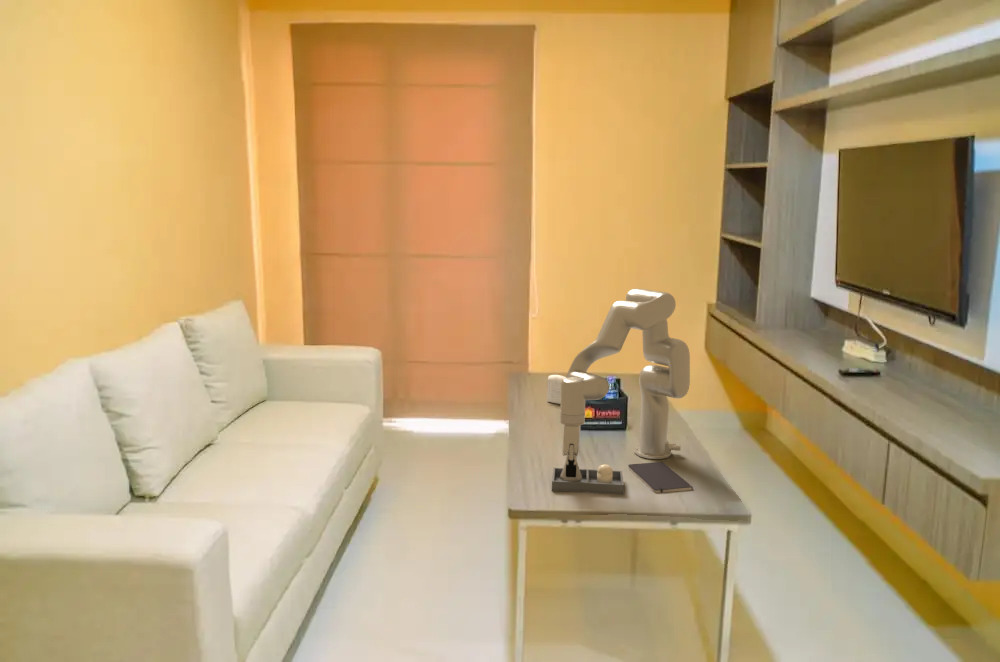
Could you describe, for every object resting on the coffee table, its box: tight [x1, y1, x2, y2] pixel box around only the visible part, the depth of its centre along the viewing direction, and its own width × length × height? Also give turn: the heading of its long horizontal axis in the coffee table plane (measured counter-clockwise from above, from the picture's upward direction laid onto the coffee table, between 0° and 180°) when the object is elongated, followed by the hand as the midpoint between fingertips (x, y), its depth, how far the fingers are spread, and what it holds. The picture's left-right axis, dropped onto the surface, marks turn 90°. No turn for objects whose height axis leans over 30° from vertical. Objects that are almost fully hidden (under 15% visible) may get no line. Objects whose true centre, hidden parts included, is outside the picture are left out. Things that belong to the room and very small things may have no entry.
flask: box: [560, 447, 582, 482], centre depth 224 cm, size 7×7×10 cm
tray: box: [551, 467, 625, 495], centre depth 224 cm, size 22×11×3 cm, turn 84°
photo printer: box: [546, 374, 566, 405], centre depth 310 cm, size 10×4×12 cm, turn 57°
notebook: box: [627, 461, 693, 494], centre depth 230 cm, size 13×2×21 cm
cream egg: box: [596, 463, 614, 484], centre depth 223 cm, size 5×5×6 cm
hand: (571, 472), depth 224 cm, fingers closed on flask, 4 cm apart
